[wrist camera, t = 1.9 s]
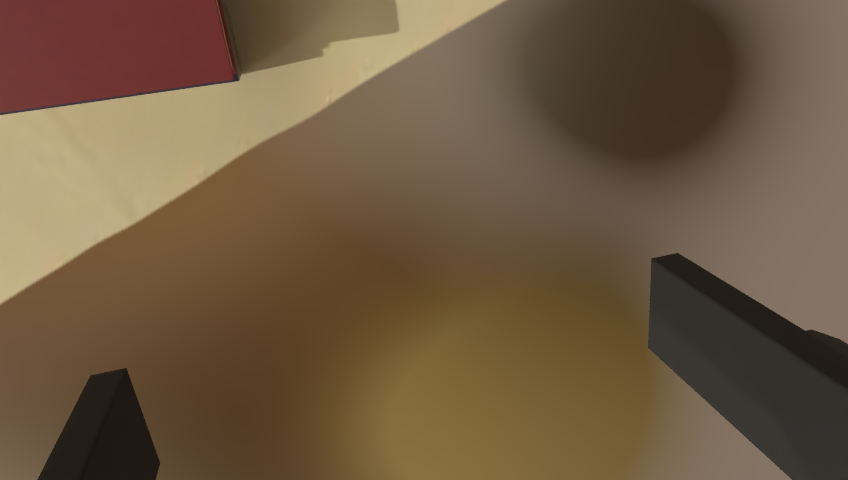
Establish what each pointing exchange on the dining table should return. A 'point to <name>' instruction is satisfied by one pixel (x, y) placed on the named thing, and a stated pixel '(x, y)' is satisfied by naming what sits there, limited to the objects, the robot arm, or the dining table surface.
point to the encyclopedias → (110, 50)
